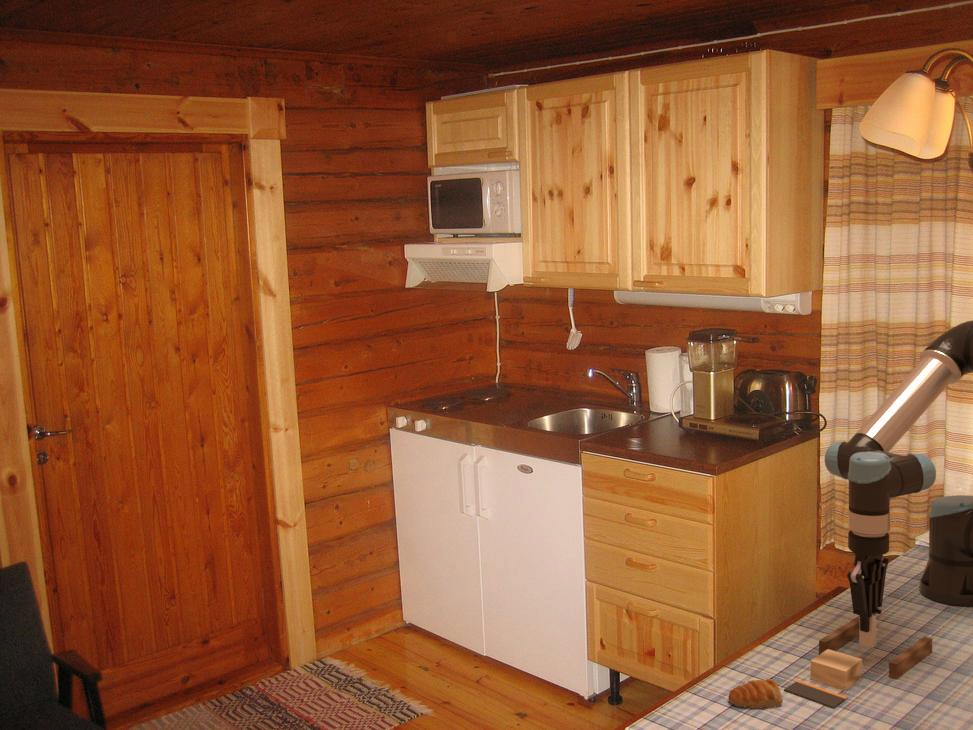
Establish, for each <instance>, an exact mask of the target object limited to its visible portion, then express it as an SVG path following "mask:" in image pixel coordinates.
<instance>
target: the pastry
mask: <svg viewBox="0 0 973 730" xmlns="http://www.w3.org/2000/svg"><path fill="white" fill-rule="evenodd" d="M779 687H780V686H779V685H778V683H777V681H776V680H774V679H770V678H767V679H765V680H764V679H758V680H755V679H754V680H753V679H752V680H749V681H747V682H745V683H743V684H742V685H738V686H737V687H734V688H733V689H731V690H730V691H729V693H728V699H727V700H728V701H729V702H730V703H731V704H733V705H734V706H736V707H738V706H741V707H740V708H748V707H754V708H753V709H757V708H758V709H760V708H759V707H767V708H775V707H774V706H776V707H780V706H781V705H782V704H783V701H784V700H783V695H782V693H781V691H780V688H779ZM744 706H746V707H744Z"/></svg>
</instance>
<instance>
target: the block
mask: <svg viewBox="0 0 973 730" xmlns="http://www.w3.org/2000/svg"><path fill="white" fill-rule="evenodd" d="M860 678H861V679H862V678H863V658H859V657H856V656H853V655H850V654H846V653H843V652H840V651H836V650H835V651H833V650H830V649H827V650H826V651H824V652H823V653H821V654H820V655H819V654H818V655H817V656H815V657H814V658H813V659H811V660H810V680H812V681H815V682H818V683H820V684H824V685H827V686H830V687H833V688H836V689H839V690H842V691H845V690H846V689H847V690H848V689H849V688H851V687H852V686H853V685H855V684H856V683H857V682H858V681H860V680H861V679H860ZM859 679H860V680H859ZM854 683H855V684H854ZM850 686H851V687H850ZM847 690H846V691H847Z"/></svg>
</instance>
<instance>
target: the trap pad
mask: <svg viewBox="0 0 973 730" xmlns="http://www.w3.org/2000/svg"><path fill="white" fill-rule="evenodd" d="M783 690H784V691H783V692H786V693H789V694H793V695H795V696H796V697H797V696H798V697H800V698H804V699H806V700H809V701H812V702H815V703H817V704H820V705H823V706H826V707H828V708H831V709H835V708H837V707H838V706H840V705H841V704H843V703H844V702H846V701H847V700H848V696H845V695H842V694H840V693H836V692H833V691H831V690H828V689H826V688H825V689H824V688H822V687H819V686H816V685H813V684H811V683H807V682H804V681H802V680H799V679H798V680H795V682H792V684H790V685H788V686H787V687H785V688H784V689H783Z"/></svg>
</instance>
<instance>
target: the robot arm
mask: <svg viewBox="0 0 973 730" xmlns="http://www.w3.org/2000/svg"><path fill="white" fill-rule="evenodd" d="M971 373H973V320H967V321H964V322H961V323H959V324H957V325H954V326H953V327H951V328H950V329H948V330H947V331H945V332H944V333H942V334H941V335H939V336H938V337H936V338H935V339H934V340H933V341H931V343H930V344H928V346H926V348H925V349H923V351H922V352H921V354H920V355H919V363H917V365H916V366H915V367H914V368H913V370H912V371H911V372H910V373H909V374H908V375H907V376H906V377H905V378H904V379H903V380H902V381H901V383H900V384H899V385H898V386H897V387H896V388H895V389H894V390H893V391H892V393H891V394H890V395H889V396H888V397H887V398H886V399H885V401H883V403H882V404H881V405H880V406H879V407H878V408H877V409H876V411H874V413H873V414H872V415H871V416H870V417H869V418H868V419H867V420H866V422H864V424H862V426H861V427H860V428H859V429H858V430H857V431H856V433H855V434H854V435H853V436H852V437H851V438H850V439H849V440H848V441H845V440H844V441H835V442H833V443H831V444H830V445H829V446H828V448H827V449H826V451H825V452H824V453H825V454H824V465H825V467H826V469H827V471H828V472H829V473H830V474H831V475H833V476H836V477H839V478H841V479H844V480H848V511H847V516H848V529H849V531H848V532H847V536H848V537H847V538H848V539H847V540H848V541H847V546H848V549H849V551H851V552H852V553H853V554H854V561H853V566H854V569H853V571H848V572H847V576H846V578H847V580H848V582H849V589H850V597H851V604H852V605H851V606H852V613H853V615H857V616H859V617H858V618H859V635H858V636H859V638H858V639H859V640H858V644H859V646H864V647H866V648H867V647H868V648H870V649H873V648H875V647H876V646H877V642H876V641H877V615H881V614H882V612H883V610H881V609H879V608H882V606H883V601H884V592H885V584H886V576H887V575H886V573H887V569H888V566H889V562H890V561H889V558H888V557H887V558H886V557H883V556H884V555H886V554H888V553H889V552H890V534H889V532H890V530H891V527H890V525H891V524H890V519H891V518H890V516H891V515H890V511H891V510H890V507H891V506H890V505H891V504H890V503H891V499H894V498H897V497H902V496H907V495H911V494H918V493H920V492H923V491H925V490H928V489H930V488H931V487H932V486H933V485H934V483H935V482H936V479H937V470H936V466H935V464H934V462H933V461H932V460H931V459H930V458H929V457H928V455H927V456H926V455H925V454H923V453H908V454H906V455H901V454H898V453H893V452H891V450H892V449H893V448H894V446H895V445H897V443H898V442H899V441H900V440H901V439H902V438H903V437H904V436H905V434H906V433H907V432H908V431H909V430H910V429H911V428H912V426H913V425H914V424H916V422H917V420H919V419H920V418H921V416H922V415H923V414H924V413H925V412H926V411H927V410H928V408H929V407H930V406H932V404H933V403H934V402H935V401H936V400H937V398H938V397H939V396H940V395H941V394H942V393H943V392H944V390H945V389H947V387H948V386H949V385H950V384H956V383H958V382H959V381H960V380H961V379H962V378H963V377H964V376H965V375H969V374H971ZM929 509H930V511H929V515H928V518H929V523H928V524H929V527H928V531H929V532H928V534H929V535H928V560H927V563H926V565H925V567H924V570H923V572H922V575H921V577H920V580H919V591H920V594H922V596H924V597H925V598H928V599H930V600H931V601H934V602H937V603H941V604H945V605H951V606H958V607H959V606H960V607H973V495H962V494H961V495H960V494H956V495H946V496H941V497H937V498H935V499H934V500H933V501H932V502H931V503H930V508H929Z"/></svg>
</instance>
